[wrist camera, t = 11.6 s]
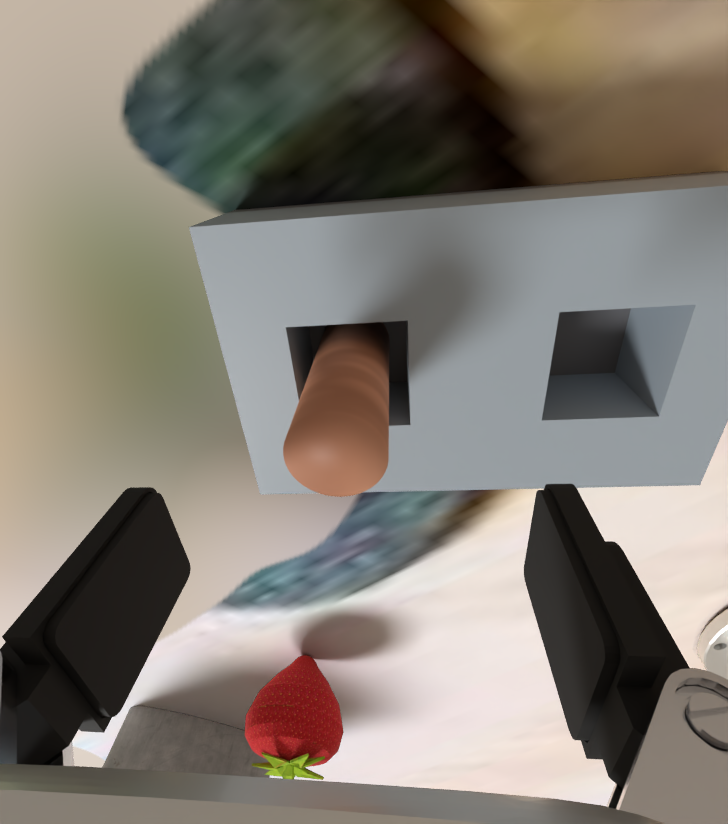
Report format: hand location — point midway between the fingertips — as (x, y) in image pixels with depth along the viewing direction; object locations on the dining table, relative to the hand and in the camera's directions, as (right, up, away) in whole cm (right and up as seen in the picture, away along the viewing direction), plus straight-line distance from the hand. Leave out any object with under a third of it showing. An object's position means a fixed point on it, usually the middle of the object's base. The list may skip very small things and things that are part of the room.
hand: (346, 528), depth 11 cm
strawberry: (-5, -18, +26) cm, 32 cm away
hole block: (+5, +7, +10) cm, 13 cm away
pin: (0, +6, +10) cm, 12 cm away
